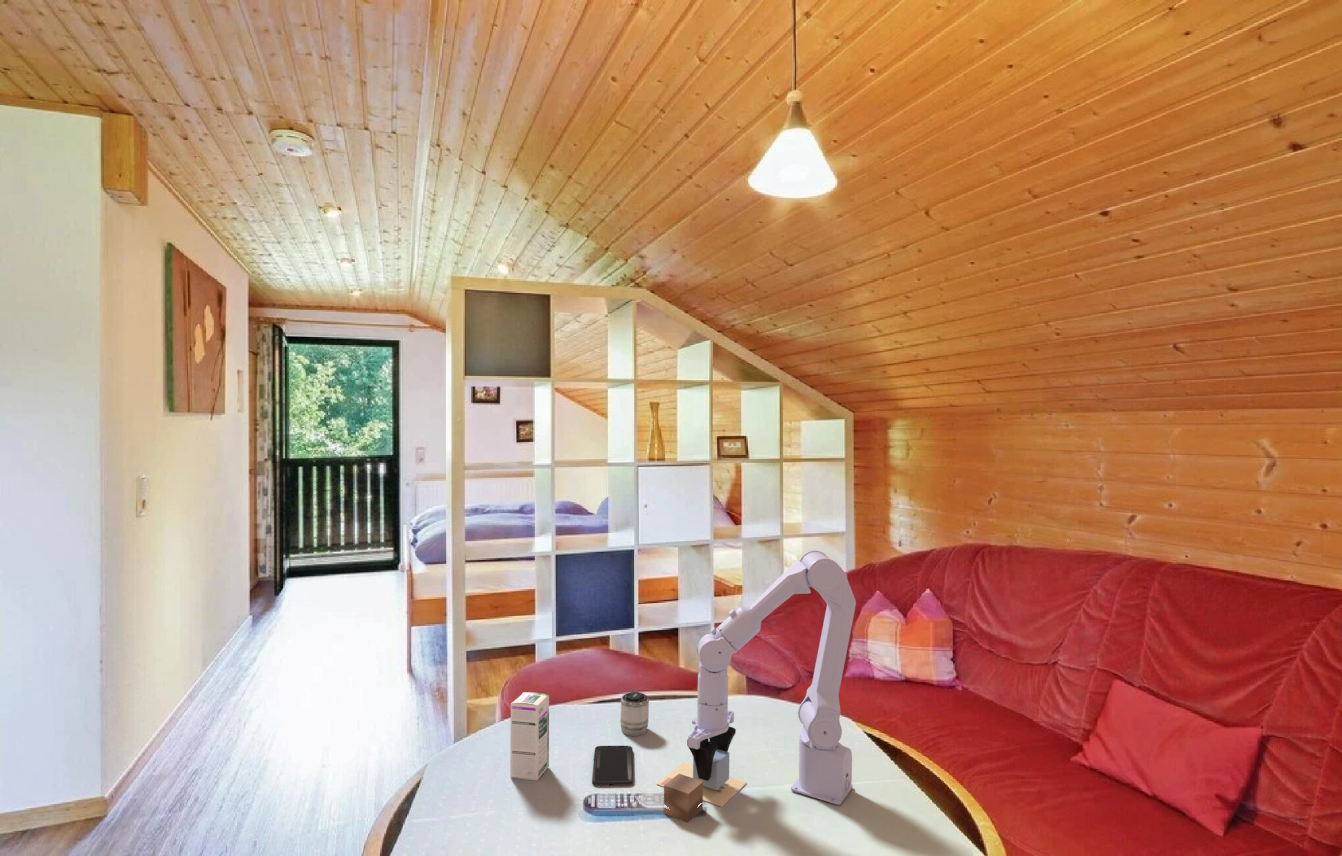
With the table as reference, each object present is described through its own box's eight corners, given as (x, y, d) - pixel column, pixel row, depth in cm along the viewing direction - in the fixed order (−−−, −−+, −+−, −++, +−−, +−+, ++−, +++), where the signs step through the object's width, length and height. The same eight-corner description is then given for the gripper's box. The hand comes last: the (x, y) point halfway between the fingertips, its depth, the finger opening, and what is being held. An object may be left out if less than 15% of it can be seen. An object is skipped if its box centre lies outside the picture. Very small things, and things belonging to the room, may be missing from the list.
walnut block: (702, 809, 122) (703, 781, 122) (688, 822, 117) (688, 793, 117) (678, 801, 124) (679, 773, 124) (663, 813, 120) (664, 785, 120)
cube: (728, 779, 130) (729, 752, 130) (716, 790, 126) (717, 762, 126) (705, 771, 133) (706, 745, 133) (692, 782, 128) (693, 755, 129)
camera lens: (616, 734, 151) (616, 698, 151) (626, 722, 157) (626, 688, 157) (642, 738, 149) (643, 702, 149) (652, 726, 155) (652, 692, 155)
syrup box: (537, 781, 130) (539, 704, 130) (508, 777, 131) (510, 701, 131) (549, 767, 136) (550, 693, 136) (521, 763, 137) (522, 690, 137)
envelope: (746, 783, 131) (746, 782, 131) (722, 807, 122) (722, 806, 122) (683, 763, 138) (683, 762, 138) (656, 784, 130) (656, 783, 130)
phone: (632, 745, 144) (633, 781, 129) (632, 750, 144) (633, 787, 129) (594, 745, 144) (591, 782, 129) (594, 751, 144) (590, 788, 129)
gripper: (712, 684, 138) (710, 751, 138) (674, 707, 125) (672, 782, 125) (744, 691, 134) (742, 761, 134) (708, 717, 122) (706, 793, 122)
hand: (711, 772), depth 129 cm, fingers closed on cube, 5 cm apart
